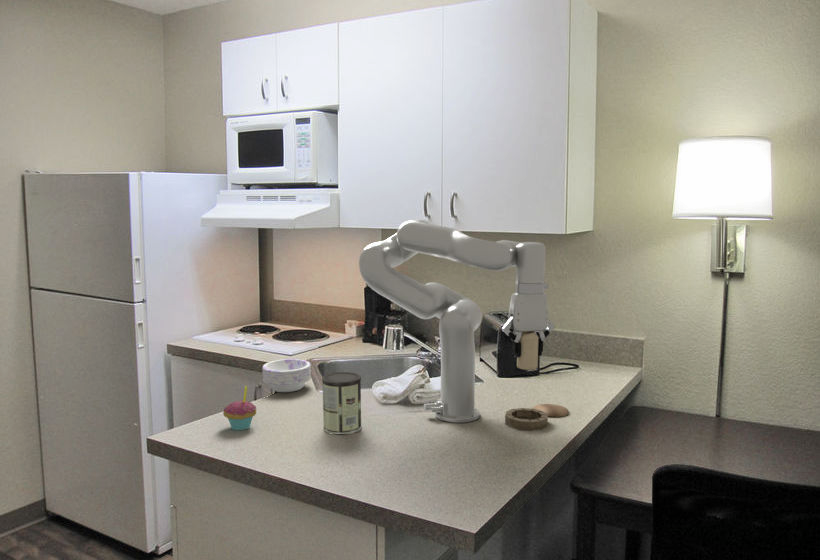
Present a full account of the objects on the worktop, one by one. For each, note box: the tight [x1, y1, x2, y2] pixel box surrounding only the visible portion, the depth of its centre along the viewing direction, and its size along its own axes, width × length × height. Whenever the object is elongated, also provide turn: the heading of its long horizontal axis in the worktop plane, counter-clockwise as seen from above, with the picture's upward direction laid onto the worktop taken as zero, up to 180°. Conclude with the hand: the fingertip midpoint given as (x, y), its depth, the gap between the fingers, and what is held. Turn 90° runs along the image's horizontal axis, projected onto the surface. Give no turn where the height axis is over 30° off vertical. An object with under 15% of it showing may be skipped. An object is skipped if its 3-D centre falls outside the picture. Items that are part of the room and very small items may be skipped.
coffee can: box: [321, 371, 362, 435], centre depth 179 cm, size 10×10×14 cm
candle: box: [516, 331, 539, 371], centre depth 182 cm, size 6×6×10 cm
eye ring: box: [504, 407, 549, 432], centre depth 184 cm, size 11×11×2 cm
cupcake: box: [222, 383, 257, 431], centre depth 180 cm, size 9×8×12 cm
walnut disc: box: [532, 403, 569, 418], centre depth 194 cm, size 10×10×1 cm
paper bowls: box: [261, 358, 312, 393], centre depth 215 cm, size 15×15×8 cm
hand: (527, 354), depth 182 cm, fingers closed on candle, 5 cm apart
